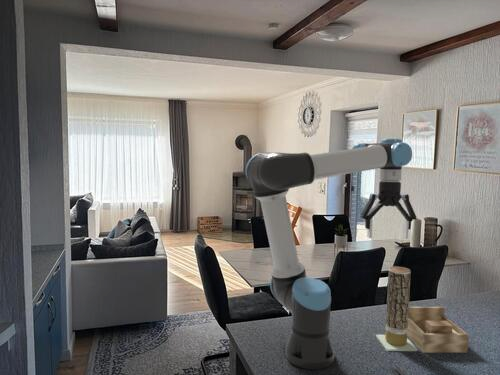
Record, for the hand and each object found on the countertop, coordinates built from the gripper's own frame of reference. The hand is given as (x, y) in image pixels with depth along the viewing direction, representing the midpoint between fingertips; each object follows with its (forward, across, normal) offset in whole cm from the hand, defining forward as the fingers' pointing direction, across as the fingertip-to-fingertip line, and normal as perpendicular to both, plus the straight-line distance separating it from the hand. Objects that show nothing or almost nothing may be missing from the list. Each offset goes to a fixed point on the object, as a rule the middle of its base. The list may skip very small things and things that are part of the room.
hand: (387, 237), depth 139 cm
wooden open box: (+33, +12, -14) cm, 38 cm away
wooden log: (+32, -2, -16) cm, 36 cm away
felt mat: (+33, -2, -16) cm, 36 cm away
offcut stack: (+33, +12, -19) cm, 39 cm away
